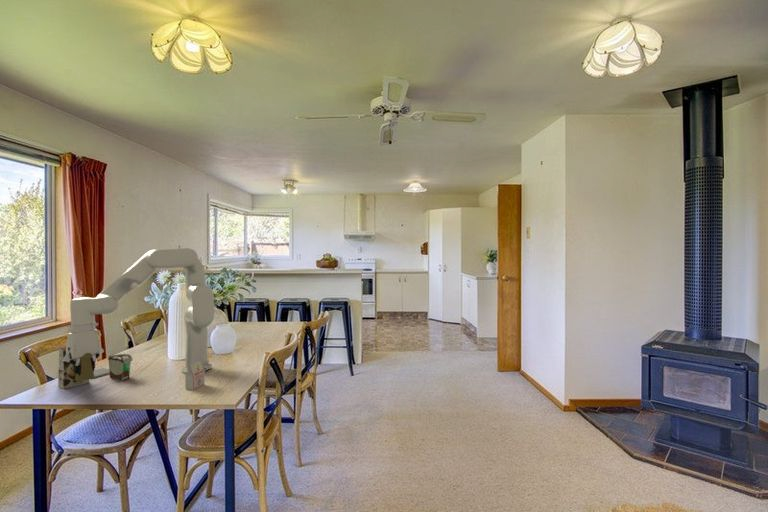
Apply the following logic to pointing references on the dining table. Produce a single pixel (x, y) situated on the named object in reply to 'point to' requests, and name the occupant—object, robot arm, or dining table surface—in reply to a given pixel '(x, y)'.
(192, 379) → the red printed box
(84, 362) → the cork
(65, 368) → the coffee box
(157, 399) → the dining table surface
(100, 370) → the slate coaster
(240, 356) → the dining table surface
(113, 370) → the food container
